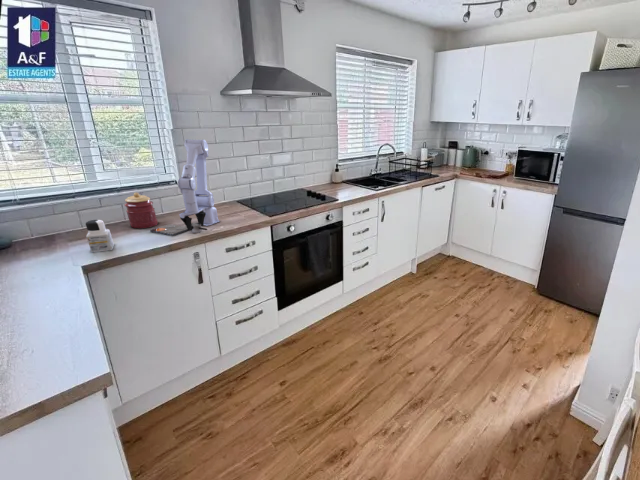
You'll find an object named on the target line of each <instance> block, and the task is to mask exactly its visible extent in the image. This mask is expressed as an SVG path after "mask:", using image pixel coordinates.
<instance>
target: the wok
mask: <svg viewBox="0 0 640 480" xmlns="http://www.w3.org/2000/svg"><path fill="white" fill-rule="evenodd" d="M191 225H192V230H191V231H190V232H192V233H193V234H199V233H201V232H202V231H208V228H207V227H202V226H201V223H198V222H191Z"/></svg>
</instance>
